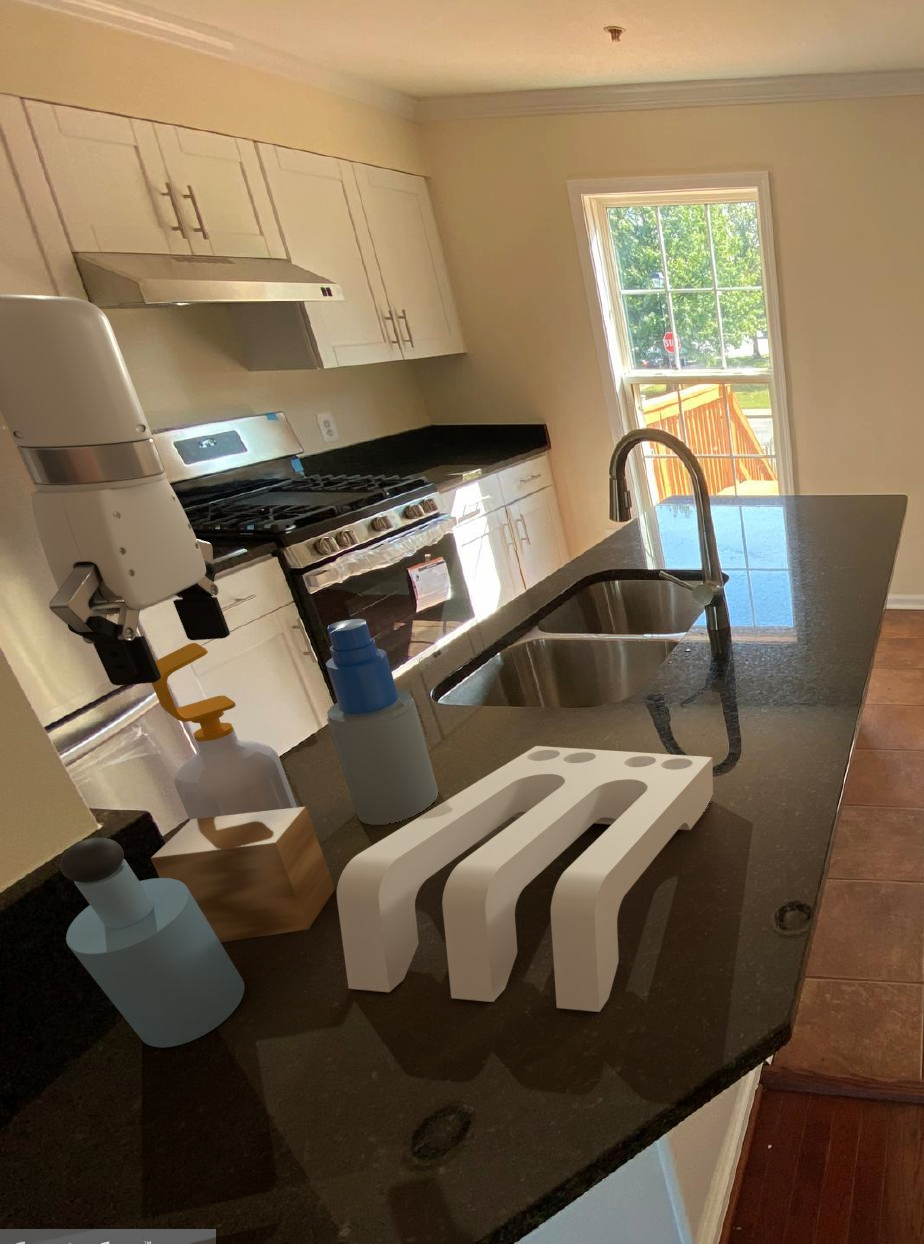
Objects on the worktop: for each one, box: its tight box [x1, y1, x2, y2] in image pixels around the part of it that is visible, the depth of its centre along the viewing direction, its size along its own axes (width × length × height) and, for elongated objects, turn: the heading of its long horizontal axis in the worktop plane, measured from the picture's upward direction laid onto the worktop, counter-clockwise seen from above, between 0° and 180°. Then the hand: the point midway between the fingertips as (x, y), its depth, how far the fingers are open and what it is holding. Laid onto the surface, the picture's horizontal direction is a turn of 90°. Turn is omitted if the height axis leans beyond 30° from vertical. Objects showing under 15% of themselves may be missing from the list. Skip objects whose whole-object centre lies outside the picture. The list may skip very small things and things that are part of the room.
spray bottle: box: [325, 618, 439, 826], centre depth 87 cm, size 9×9×25 cm
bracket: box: [336, 745, 714, 1013], centre depth 79 cm, size 24×12×32 cm
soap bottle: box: [151, 642, 298, 821], centre depth 81 cm, size 9×9×25 cm
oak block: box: [150, 806, 336, 944], centre depth 72 cm, size 10×6×11 cm, turn 104°
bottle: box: [59, 837, 246, 1048], centre depth 58 cm, size 13×7×20 cm
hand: (176, 658), depth 64 cm, fingers open, 9 cm apart
